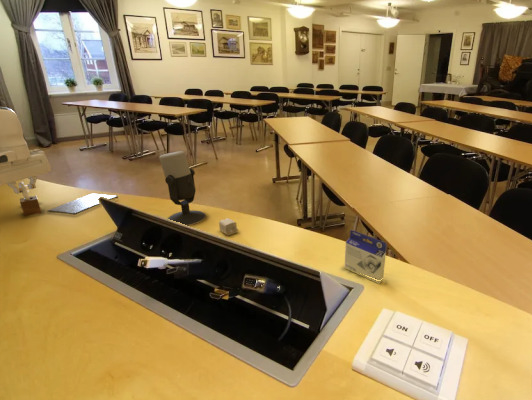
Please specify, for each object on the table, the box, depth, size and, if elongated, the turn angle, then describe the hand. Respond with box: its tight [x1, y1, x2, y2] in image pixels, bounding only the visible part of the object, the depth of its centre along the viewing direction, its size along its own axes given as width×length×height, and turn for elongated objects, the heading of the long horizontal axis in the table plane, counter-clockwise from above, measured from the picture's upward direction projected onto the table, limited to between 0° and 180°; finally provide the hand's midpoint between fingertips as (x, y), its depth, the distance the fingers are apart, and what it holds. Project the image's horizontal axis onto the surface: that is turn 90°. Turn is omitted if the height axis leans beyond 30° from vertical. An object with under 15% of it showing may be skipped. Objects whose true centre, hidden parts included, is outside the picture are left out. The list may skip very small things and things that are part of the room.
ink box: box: [343, 229, 388, 285], centre depth 85 cm, size 12×2×12 cm, turn 50°
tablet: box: [47, 193, 118, 216], centre depth 129 cm, size 13×20×1 cm, turn 168°
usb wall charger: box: [218, 217, 239, 236], centre depth 107 cm, size 4×7×4 cm, turn 44°
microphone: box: [158, 150, 206, 227], centre depth 114 cm, size 13×13×25 cm
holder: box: [19, 195, 42, 217], centre depth 119 cm, size 5×5×6 cm
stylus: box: [17, 182, 31, 200], centre depth 118 cm, size 1×1×12 cm
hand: (25, 190), depth 117 cm, fingers open, 3 cm apart
